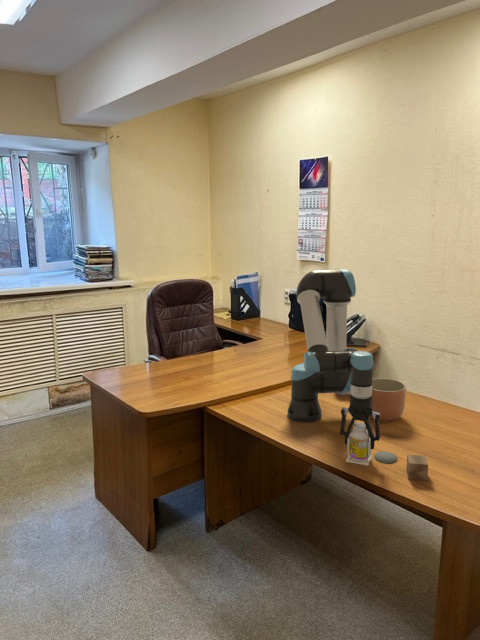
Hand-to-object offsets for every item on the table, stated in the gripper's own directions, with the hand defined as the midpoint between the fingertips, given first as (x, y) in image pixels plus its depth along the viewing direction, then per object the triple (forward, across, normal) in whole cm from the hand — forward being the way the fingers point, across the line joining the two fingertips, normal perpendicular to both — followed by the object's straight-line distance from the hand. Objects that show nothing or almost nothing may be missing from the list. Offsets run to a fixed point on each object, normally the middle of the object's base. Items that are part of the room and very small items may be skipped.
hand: (359, 454), depth 170 cm
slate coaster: (+1, +9, +4) cm, 10 cm away
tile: (+1, 0, 0) cm, 1 cm away
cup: (+2, -19, +65) cm, 68 cm away
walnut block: (+2, +20, -4) cm, 21 cm away
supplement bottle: (+1, 0, 0) cm, 1 cm away
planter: (+2, +4, +40) cm, 40 cm away
